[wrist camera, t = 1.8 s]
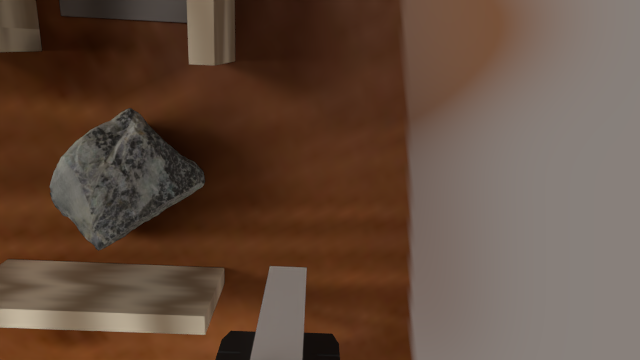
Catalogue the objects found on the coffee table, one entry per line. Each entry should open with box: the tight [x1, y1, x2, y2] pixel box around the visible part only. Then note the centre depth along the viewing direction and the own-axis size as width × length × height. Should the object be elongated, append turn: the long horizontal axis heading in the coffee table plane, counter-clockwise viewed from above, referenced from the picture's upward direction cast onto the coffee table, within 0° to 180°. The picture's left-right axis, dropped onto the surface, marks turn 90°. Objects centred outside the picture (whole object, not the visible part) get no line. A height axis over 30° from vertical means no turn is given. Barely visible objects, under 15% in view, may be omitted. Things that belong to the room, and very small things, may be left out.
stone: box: [50, 108, 205, 250], centre depth 32 cm, size 10×10×10 cm
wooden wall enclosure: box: [0, 0, 235, 335], centre depth 30 cm, size 19×32×7 cm, turn 177°
